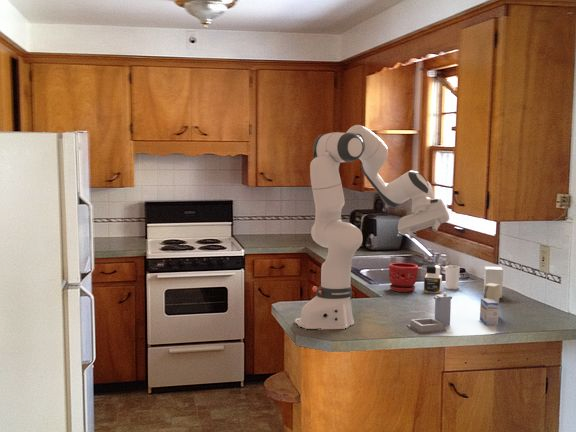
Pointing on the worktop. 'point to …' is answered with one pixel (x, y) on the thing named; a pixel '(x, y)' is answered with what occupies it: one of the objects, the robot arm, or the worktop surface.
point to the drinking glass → (452, 276)
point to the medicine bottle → (433, 279)
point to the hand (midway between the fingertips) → (423, 233)
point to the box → (492, 292)
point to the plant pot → (403, 276)
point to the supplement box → (494, 277)
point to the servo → (443, 308)
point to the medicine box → (489, 311)
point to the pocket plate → (426, 325)
